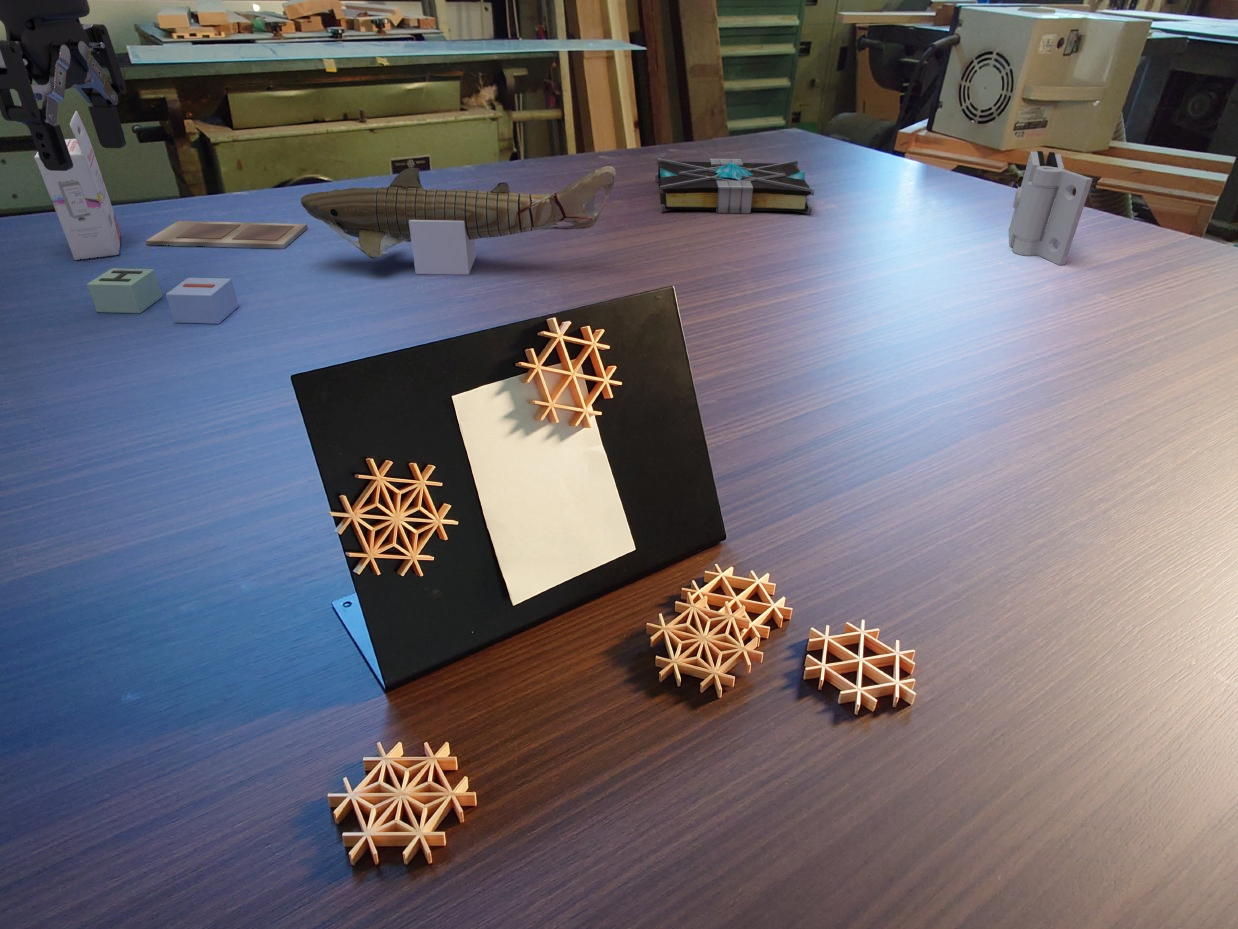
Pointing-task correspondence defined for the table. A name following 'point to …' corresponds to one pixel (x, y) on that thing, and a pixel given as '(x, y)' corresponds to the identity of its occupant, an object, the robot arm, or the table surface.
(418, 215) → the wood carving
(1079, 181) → the hinge
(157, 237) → the word board
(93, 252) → the ink cartridge box
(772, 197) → the book
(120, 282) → the tile
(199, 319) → the tile
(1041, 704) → the table surface
